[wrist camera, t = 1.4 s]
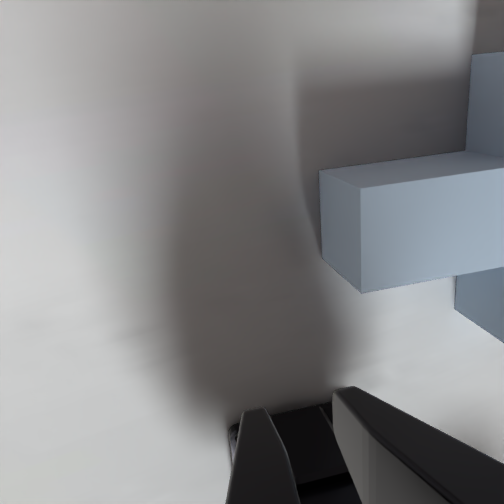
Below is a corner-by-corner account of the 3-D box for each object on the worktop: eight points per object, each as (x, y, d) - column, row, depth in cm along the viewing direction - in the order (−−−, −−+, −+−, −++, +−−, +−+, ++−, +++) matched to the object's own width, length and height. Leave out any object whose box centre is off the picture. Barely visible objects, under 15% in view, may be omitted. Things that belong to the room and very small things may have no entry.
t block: (522, 295, 25) (590, 331, 21) (325, 335, 23) (362, 383, 19) (552, 47, 20) (644, 37, 17) (315, 69, 18) (359, 64, 15)
